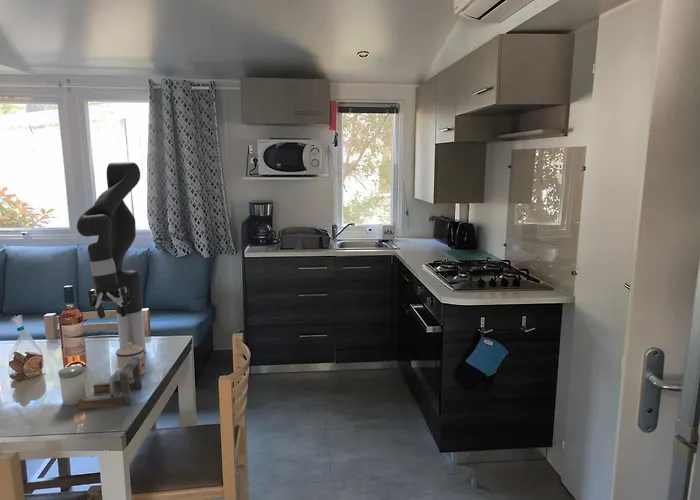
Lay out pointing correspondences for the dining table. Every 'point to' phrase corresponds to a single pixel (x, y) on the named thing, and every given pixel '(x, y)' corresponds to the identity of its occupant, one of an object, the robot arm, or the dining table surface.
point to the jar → (72, 385)
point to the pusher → (116, 383)
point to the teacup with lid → (130, 356)
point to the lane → (125, 388)
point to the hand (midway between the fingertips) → (113, 317)
